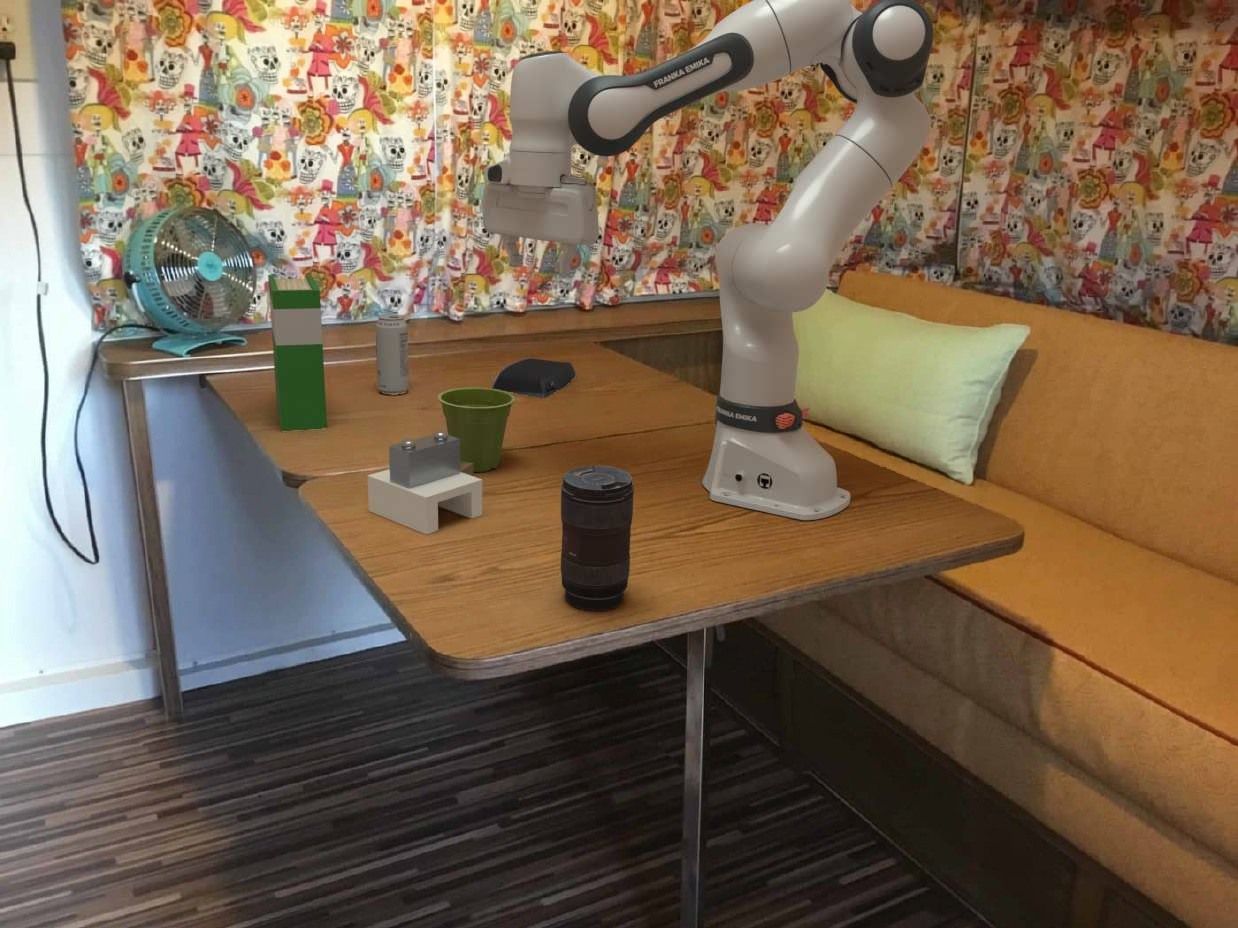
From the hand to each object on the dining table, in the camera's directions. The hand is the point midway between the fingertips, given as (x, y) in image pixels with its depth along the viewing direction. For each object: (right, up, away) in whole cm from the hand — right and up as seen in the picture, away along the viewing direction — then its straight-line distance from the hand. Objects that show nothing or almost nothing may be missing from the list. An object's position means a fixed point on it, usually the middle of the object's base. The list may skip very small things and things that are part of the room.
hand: (538, 270), depth 150 cm
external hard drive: (-6, -13, +62) cm, 64 cm away
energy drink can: (-33, -14, +51) cm, 62 cm away
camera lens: (+9, -44, -32) cm, 55 cm away
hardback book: (-45, -20, +32) cm, 59 cm away
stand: (-15, -35, -9) cm, 39 cm away
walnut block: (-12, -32, 0) cm, 35 cm away
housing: (-15, -30, -11) cm, 35 cm away
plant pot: (-11, -29, +11) cm, 33 cm away
